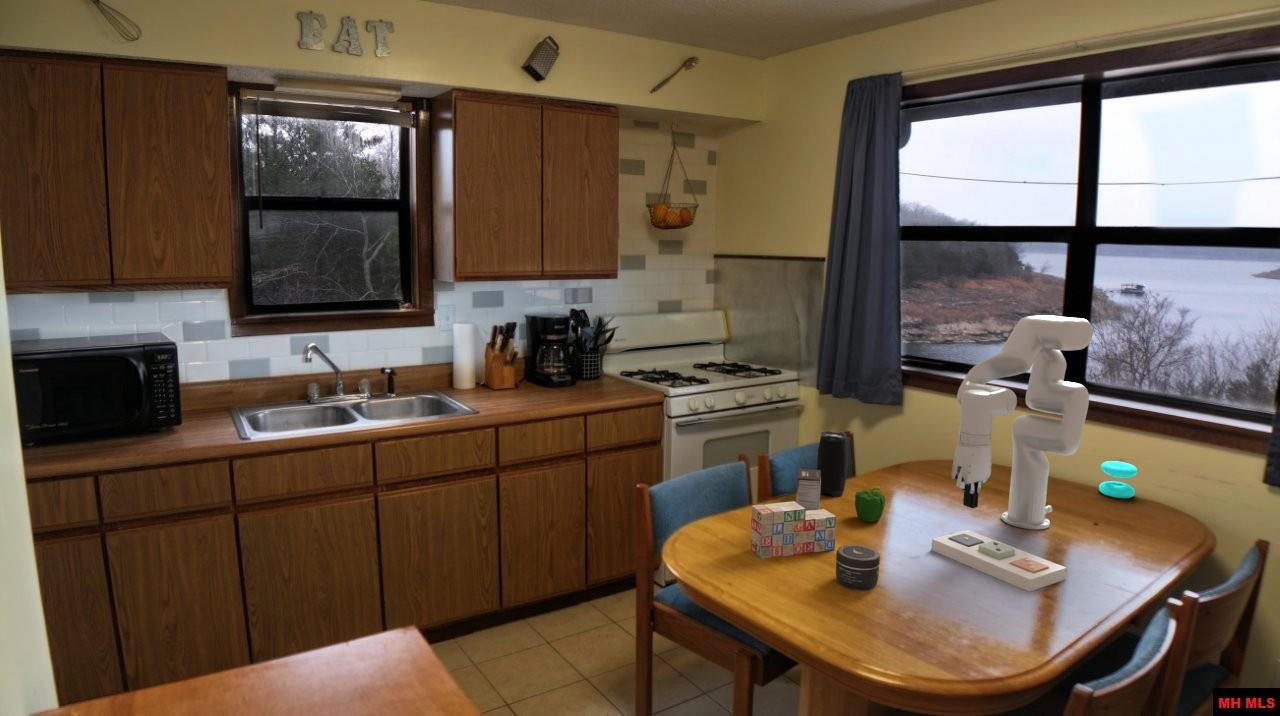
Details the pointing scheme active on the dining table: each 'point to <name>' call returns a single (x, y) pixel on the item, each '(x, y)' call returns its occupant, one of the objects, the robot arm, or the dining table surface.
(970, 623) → the dining table surface
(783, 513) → the stack of blocks
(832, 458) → the portable speaker
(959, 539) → the tile one
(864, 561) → the jar
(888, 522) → the dining table surface
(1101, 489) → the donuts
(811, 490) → the coffee box
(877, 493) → the bell pepper
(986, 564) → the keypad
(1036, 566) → the tile three
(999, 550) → the tile two
